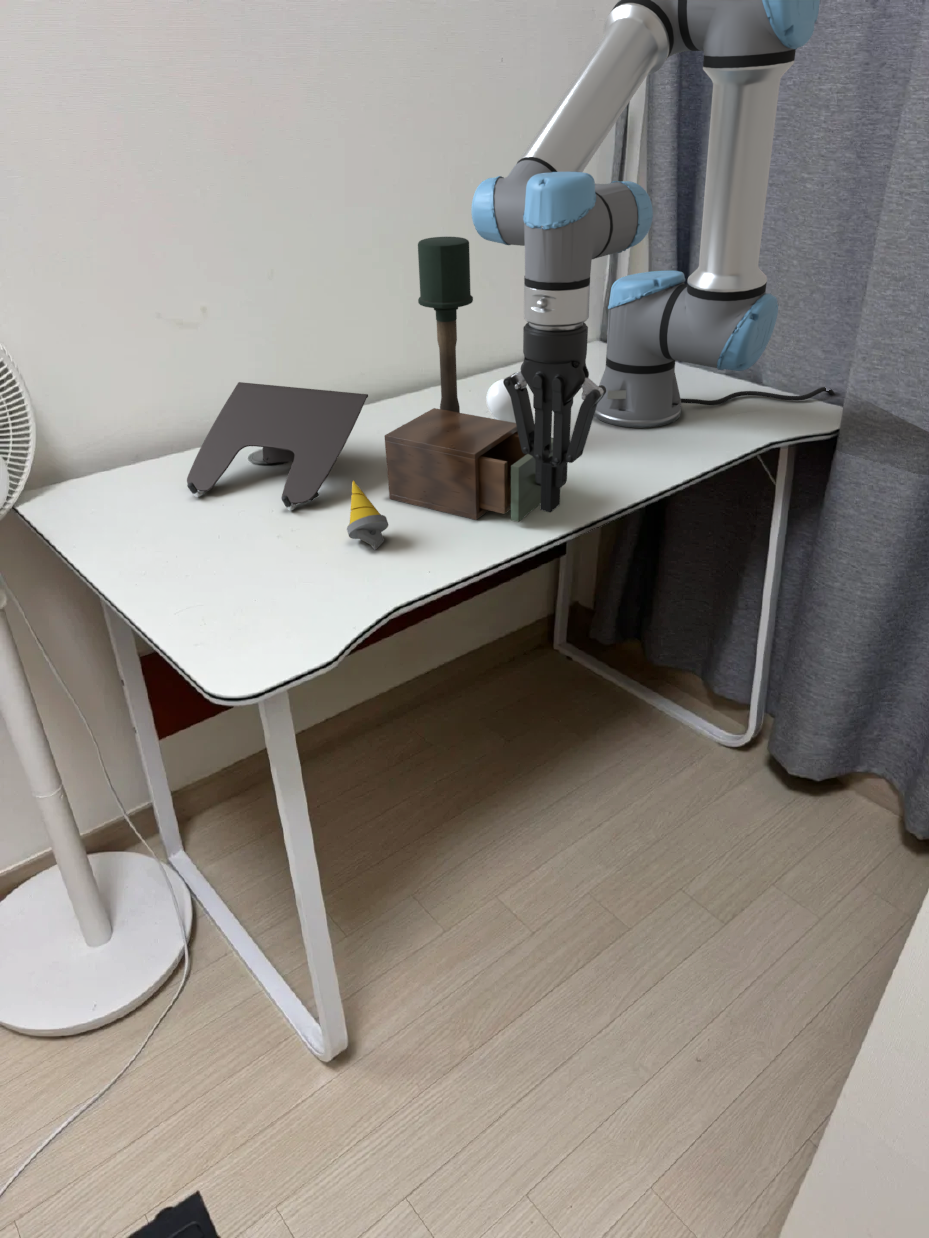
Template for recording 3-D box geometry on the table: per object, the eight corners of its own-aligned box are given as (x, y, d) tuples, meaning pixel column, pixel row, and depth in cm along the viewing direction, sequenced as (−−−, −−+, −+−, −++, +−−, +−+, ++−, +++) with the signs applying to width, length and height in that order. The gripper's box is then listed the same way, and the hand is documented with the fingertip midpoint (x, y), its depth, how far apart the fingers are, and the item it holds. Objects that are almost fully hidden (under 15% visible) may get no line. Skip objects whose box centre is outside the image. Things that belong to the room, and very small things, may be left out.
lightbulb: (505, 436, 143) (505, 370, 137) (533, 445, 139) (535, 378, 133) (478, 447, 140) (477, 380, 134) (507, 457, 136) (507, 388, 130)
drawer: (564, 492, 122) (566, 440, 118) (526, 524, 114) (527, 469, 110) (475, 473, 128) (474, 422, 124) (433, 501, 120) (431, 449, 116)
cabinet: (520, 486, 126) (520, 423, 121) (476, 520, 117) (474, 454, 112) (436, 468, 133) (433, 407, 127) (389, 499, 124) (384, 435, 119)
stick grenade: (477, 421, 150) (473, 235, 133) (473, 439, 142) (468, 245, 126) (429, 421, 150) (419, 236, 134) (422, 439, 143) (411, 246, 127)
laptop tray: (194, 522, 132) (166, 483, 125) (255, 413, 143) (233, 371, 135) (327, 542, 125) (306, 503, 118) (380, 427, 136) (364, 383, 128)
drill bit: (346, 558, 110) (325, 488, 112) (375, 559, 114) (354, 491, 116) (374, 540, 107) (352, 469, 109) (403, 542, 111) (380, 473, 113)
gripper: (491, 324, 100) (492, 508, 113) (594, 336, 94) (583, 529, 107) (521, 310, 105) (519, 487, 118) (620, 321, 100) (607, 506, 112)
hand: (550, 507), depth 113 cm, fingers closed
